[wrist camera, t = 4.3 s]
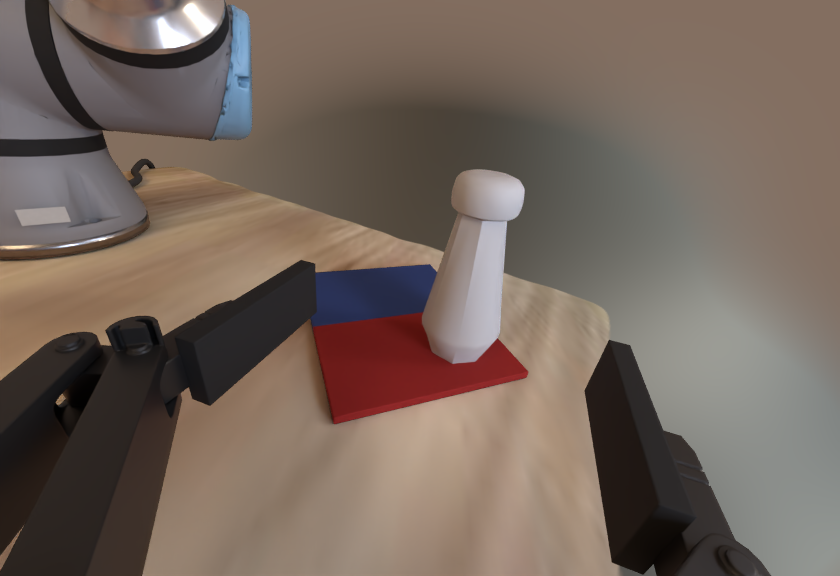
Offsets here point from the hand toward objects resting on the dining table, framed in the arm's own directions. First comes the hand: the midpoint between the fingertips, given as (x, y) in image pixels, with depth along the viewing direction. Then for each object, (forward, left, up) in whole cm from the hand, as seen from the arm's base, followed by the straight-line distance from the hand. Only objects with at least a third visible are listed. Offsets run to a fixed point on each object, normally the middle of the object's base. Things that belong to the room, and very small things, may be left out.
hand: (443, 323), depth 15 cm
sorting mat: (-12, +3, -8) cm, 15 cm away
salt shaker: (-7, +6, -8) cm, 12 cm away
